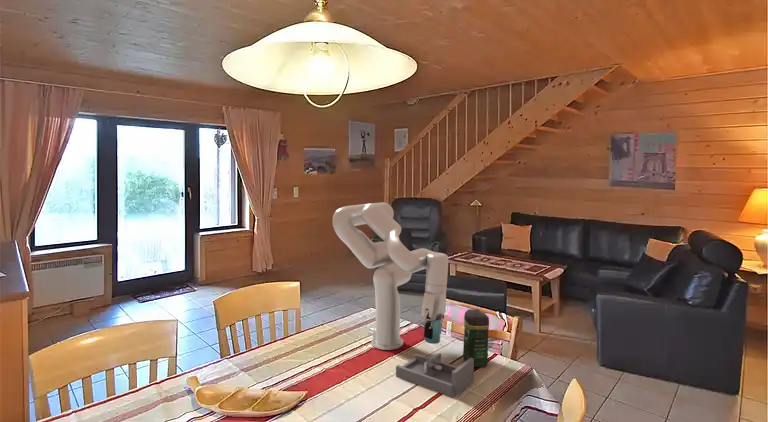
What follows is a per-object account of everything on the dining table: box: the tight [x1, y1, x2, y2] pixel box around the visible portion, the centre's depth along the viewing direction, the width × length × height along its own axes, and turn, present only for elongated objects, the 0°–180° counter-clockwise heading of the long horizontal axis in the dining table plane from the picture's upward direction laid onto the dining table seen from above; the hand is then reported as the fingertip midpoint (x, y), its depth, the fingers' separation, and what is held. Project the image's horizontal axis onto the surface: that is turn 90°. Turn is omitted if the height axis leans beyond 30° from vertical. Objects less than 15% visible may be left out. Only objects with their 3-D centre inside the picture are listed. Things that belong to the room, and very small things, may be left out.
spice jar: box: [424, 314, 443, 345], centre depth 160 cm, size 6×6×10 cm
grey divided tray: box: [395, 353, 475, 399], centre depth 144 cm, size 22×12×8 cm, turn 53°
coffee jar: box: [462, 308, 490, 368], centre depth 156 cm, size 10×8×19 cm
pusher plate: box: [424, 352, 443, 377], centre depth 144 cm, size 4×9×6 cm, turn 143°
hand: (432, 334), depth 160 cm, fingers closed on spice jar, 5 cm apart
